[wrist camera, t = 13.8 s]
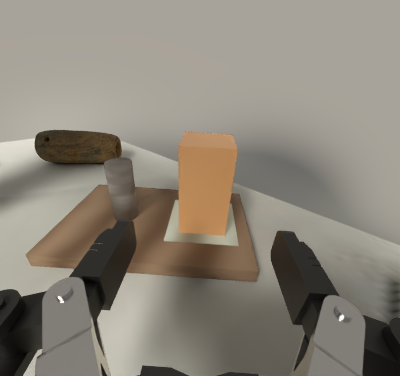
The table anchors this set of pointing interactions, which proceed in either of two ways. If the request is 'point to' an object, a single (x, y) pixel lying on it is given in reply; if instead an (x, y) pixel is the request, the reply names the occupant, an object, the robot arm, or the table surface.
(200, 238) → the board
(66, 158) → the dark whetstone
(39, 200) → the table surface
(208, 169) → the tall wooden pillar
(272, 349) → the table surface
